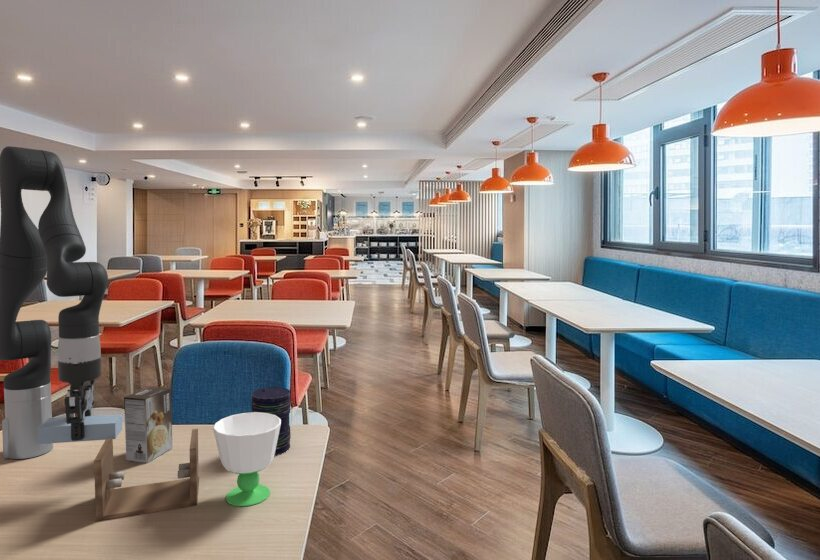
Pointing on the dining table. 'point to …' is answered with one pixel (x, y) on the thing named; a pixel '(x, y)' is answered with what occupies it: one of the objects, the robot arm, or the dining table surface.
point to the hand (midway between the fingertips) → (81, 433)
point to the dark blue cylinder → (275, 411)
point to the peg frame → (142, 487)
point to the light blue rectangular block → (93, 429)
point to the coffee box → (148, 424)
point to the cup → (247, 452)
